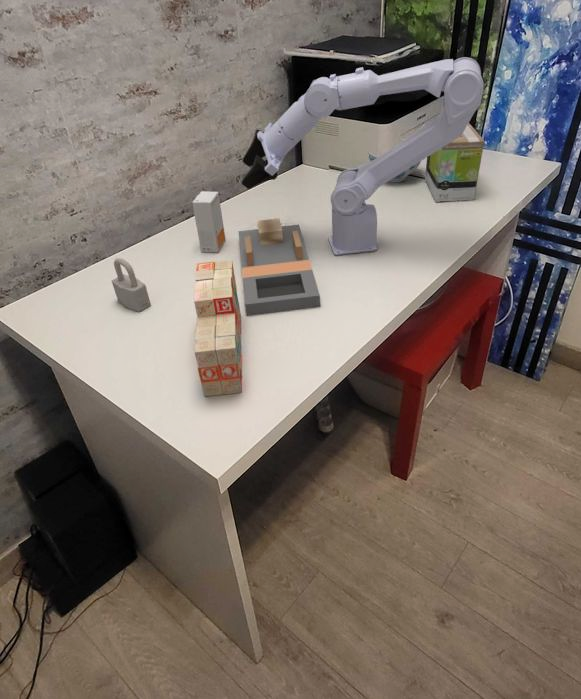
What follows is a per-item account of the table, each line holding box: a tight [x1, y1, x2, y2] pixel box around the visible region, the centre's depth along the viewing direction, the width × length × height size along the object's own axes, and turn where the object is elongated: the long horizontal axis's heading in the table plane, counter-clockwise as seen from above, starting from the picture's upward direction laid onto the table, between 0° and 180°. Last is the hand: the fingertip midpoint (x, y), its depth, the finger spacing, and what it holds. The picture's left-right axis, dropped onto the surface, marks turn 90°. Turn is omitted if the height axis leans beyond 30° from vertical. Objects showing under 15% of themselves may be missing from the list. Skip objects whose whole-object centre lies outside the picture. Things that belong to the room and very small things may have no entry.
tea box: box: [424, 122, 485, 203], centre depth 132 cm, size 15×10×15 cm
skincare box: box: [191, 190, 227, 253], centre depth 117 cm, size 6×4×12 cm
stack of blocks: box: [193, 259, 243, 397], centre depth 87 cm, size 21×6×12 cm, turn 5°
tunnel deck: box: [238, 224, 321, 316], centre depth 109 cm, size 14×30×6 cm, turn 7°
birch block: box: [256, 217, 283, 245], centre depth 116 cm, size 5×6×3 cm
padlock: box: [111, 257, 152, 313], centre depth 102 cm, size 7×4×10 cm, turn 51°
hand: (245, 174), depth 112 cm, fingers open, 7 cm apart
